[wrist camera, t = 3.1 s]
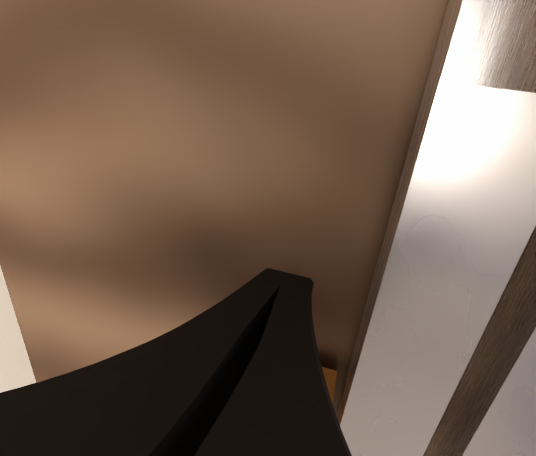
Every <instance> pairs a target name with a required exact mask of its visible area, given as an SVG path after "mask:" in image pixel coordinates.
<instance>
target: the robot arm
mask: <svg viewBox="0 0 536 456" xmlns="http://www.w3.org/2000/svg"><path fill="white" fill-rule="evenodd" d="M313 285H314V282H313V281H312V280H311V278H307V277H303V276H299V275H295V274H291V273H287V272H283V271H279V270H275V269H270V268H267V269H265V270H263V271H262V272H260V273H259V274H258V275H256V276H255V277H254V278H252V279H251V280H250V281H248V282H247V283H246V284H244V285H243V286H242V287H240V288H239V289H237V290H236V291H235V292H233V293H232V294H230V295H229V296H227V297H226V298H224V299H223V300H221V301H220V302H218V303H217V304H215V305H214V306H212V307H211V308H209V309H207V310H206V311H204V312H202V313H201V314H199V315H197V316H196V317H194V318H192V319H191V320H189V321H187V322H186V323H184V324H182V325H180V326H178V327H176V328H175V329H173V330H171V331H169V332H167V333H165V334H163V335H161V336H159V337H157V338H155V339H152V340H150V341H148V342H146V343H144V344H141V345H139V346H137V347H134V348H132V349H129V350H127V351H124V352H122V353H119V354H117V355H114V356H112V357H110V358H107V359H105V360H102V361H100V362H97V363H94V364H92V365H89V366H86V367H83V368H80V369H77V370H74V371H72V372H69V373H66V374H63V375H59V376H56V377H53V378H50V379H47V380H44V381H41V382H37V383H34V384H31V385H27V386H24V387H21V388H17V389H13V390H10V391H6V392H2V393H0V456H352V455H351V452H350V450H349V447H348V445H347V442H346V440H345V437H344V435H343V432H342V430H341V427H340V424H339V421H338V418H337V415H336V413H335V410H334V407H333V404H332V401H331V397H330V394H329V391H328V388H327V384H326V381H325V377H324V374H323V370H322V366H321V362H320V357H319V353H318V348H317V343H316V338H315V331H314V324H313V317H312V290H313Z"/></svg>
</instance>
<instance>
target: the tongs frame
mask: <svg viewBox="0 0 536 456" xmlns="http://www.w3.org/2000/svg"><path fill="white" fill-rule="evenodd" d="M424 456H536V228H535V230H534V232H533V234H532V236H531V238H530V240H529V242H528V244H527V247H526V249H525V251H524V253H523V255H522V257H521V259H520V261H519V263H518V265H517V267H516V269H515V271H514V273H513V275H512V277H511V279H510V281H509V283H508V285H507V287H506V289H505V291H504V293H503V295H502V297H501V299H500V301H499V304H498V306H497V308H496V310H495V312H494V314H493V316H492V318H491V320H490V322H489V324H488V326H487V328H486V330H485V332H484V334H483V336H482V338H481V340H480V342H479V344H478V346H477V348H476V350H475V352H474V354H473V356H472V358H471V361H470V363H469V365H468V367H467V369H466V371H465V373H464V375H463V377H462V379H461V381H460V383H459V385H458V387H457V389H456V391H455V393H454V395H453V397H452V399H451V401H450V403H449V405H448V407H447V409H446V411H445V413H444V415H443V418H442V420H441V422H440V424H439V426H438V428H437V430H436V432H435V434H434V436H433V438H432V440H431V442H430V444H429V446H428V448H427V450H426V452H425V454H424Z"/></svg>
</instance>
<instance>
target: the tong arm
mask: <svg viewBox="0 0 536 456" xmlns="http://www.w3.org/2000/svg"><path fill="white" fill-rule="evenodd" d="M535 226H536V0H449V2H448V5H447V9H446V12H445V16H444V20H443V23H442V27H441V31H440V34H439V38H438V42H437V45H436V49H435V53H434V56H433V60H432V64H431V67H430V71H429V75H428V78H427V82H426V86H425V89H424V93H423V97H422V100H421V104H420V108H419V111H418V115H417V119H416V122H415V126H414V130H413V133H412V137H411V140H410V144H409V148H408V151H407V155H406V159H405V162H404V166H403V170H402V173H401V177H400V181H399V184H398V188H397V192H396V195H395V199H394V203H393V206H392V210H391V214H390V217H389V221H388V225H387V228H386V232H385V236H384V239H383V243H382V247H381V250H380V254H379V258H378V261H377V265H376V269H375V272H374V276H373V279H372V283H371V287H370V290H369V294H368V298H367V301H366V305H365V309H364V312H363V316H362V320H361V323H360V327H359V331H358V334H357V338H356V342H355V345H354V349H353V353H352V356H351V360H350V364H349V367H348V371H347V375H346V378H345V382H344V386H343V389H342V393H341V397H340V400H339V404H338V408H337V411H336V415H337V418H338V421H339V424H340V427H341V430H342V432H343V435H344V437H345V440H346V442H347V445H348V447H349V450H350V452H351V455H352V456H423V455H424V453H425V451H426V449H427V447H428V445H429V442H430V440H431V438H432V436H433V434H434V432H435V430H436V428H437V426H438V424H439V422H440V420H441V418H442V416H443V414H444V412H445V410H446V408H447V406H448V404H449V402H450V400H451V398H452V396H453V393H454V391H455V389H456V387H457V385H458V383H459V381H460V379H461V377H462V375H463V373H464V371H465V369H466V367H467V365H468V363H469V361H470V359H471V357H472V355H473V353H474V351H475V349H476V346H477V344H478V342H479V340H480V338H481V336H482V334H483V332H484V330H485V328H486V326H487V324H488V322H489V320H490V318H491V316H492V314H493V312H494V310H495V308H496V306H497V304H498V302H499V300H500V297H501V295H502V293H503V291H504V289H505V287H506V285H507V283H508V281H509V279H510V277H511V275H512V273H513V271H514V269H515V267H516V265H517V263H518V261H519V259H520V257H521V255H522V253H523V251H524V248H525V246H526V244H527V242H528V240H529V238H530V236H531V234H532V232H533V230H534V228H535Z"/></svg>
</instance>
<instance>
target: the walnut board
mask: <svg viewBox="0 0 536 456" xmlns="http://www.w3.org/2000/svg"><path fill="white" fill-rule="evenodd" d="M448 2H449V0H0V265H1V268H2V272H3V275H4V278H5V281H6V285H7V288H8V291H9V294H10V298H11V301H12V304H13V307H14V311H15V314H16V317H17V320H18V324H19V327H20V330H21V333H22V337H23V340H24V343H25V346H26V350H27V353H28V356H29V359H30V363H31V366H32V369H33V372H34V376H35V379H36V382H41V381H44V380H47V379H50V378H53V377H56V376H59V375H63V374H66V373H69V372H72V371H74V370H77V369H80V368H83V367H86V366H89V365H92V364H94V363H97V362H100V361H102V360H105V359H107V358H110V357H112V356H114V355H117V354H119V353H122V352H124V351H127V350H129V349H132V348H134V347H137V346H139V345H141V344H144V343H146V342H148V341H150V340H152V339H155V338H157V337H159V336H161V335H163V334H165V333H167V332H169V331H171V330H173V329H175V328H176V327H178V326H180V325H182V324H184V323H186V322H187V321H189V320H191V319H192V318H194V317H196V316H197V315H199V314H201V313H202V312H204V311H206V310H207V309H209V308H211V307H212V306H214V305H215V304H217V303H218V302H220V301H221V300H223V299H224V298H226V297H227V296H229V295H230V294H232V293H233V292H235V291H236V290H237V289H239V288H240V287H242V286H243V285H244V284H246V283H247V282H248V281H250V280H251V279H252V278H254V277H255V276H256V275H258V274H259V273H260V272H262V271H263V270H265V269H267V268H270V269H275V270H279V271H283V272H287V273H291V274H295V275H299V276H303V277H307V278H311V280H312V281H313V282H314V285H313V290H312V317H313V324H314V331H315V338H316V343H317V348H318V353H319V357H320V362H321V366H322V367H325V368H329V369H332V370H335V371H337V376H336V383H335V390H334V397H333V407H334V410H335V413H336V411H337V408H338V404H339V400H340V397H341V393H342V389H343V386H344V382H345V378H346V375H347V371H348V367H349V364H350V360H351V356H352V353H353V349H354V345H355V342H356V338H357V334H358V331H359V327H360V323H361V320H362V316H363V312H364V309H365V305H366V301H367V298H368V294H369V290H370V287H371V283H372V279H373V276H374V272H375V269H376V265H377V261H378V258H379V254H380V250H381V247H382V243H383V239H384V236H385V232H386V228H387V225H388V221H389V217H390V214H391V210H392V206H393V203H394V199H395V195H396V192H397V188H398V184H399V181H400V177H401V173H402V170H403V166H404V162H405V159H406V155H407V151H408V148H409V144H410V140H411V137H412V133H413V130H414V126H415V122H416V119H417V115H418V111H419V108H420V104H421V100H422V97H423V93H424V89H425V86H426V82H427V78H428V75H429V71H430V67H431V64H432V60H433V56H434V53H435V49H436V45H437V42H438V38H439V34H440V31H441V27H442V23H443V20H444V16H445V12H446V9H447V5H448ZM535 228H536V226H535ZM535 228H534V230H535ZM534 230H533V232H534ZM533 232H532V234H533ZM532 234H531V236H532ZM531 236H530V238H531ZM530 238H529V240H530ZM529 240H528V242H529ZM528 242H527V244H528ZM527 244H526V246H525V248H524V251H525V249H526V247H527ZM524 251H523V253H524ZM523 253H522V255H523ZM522 255H521V257H522ZM521 257H520V259H521ZM520 259H519V261H520ZM519 261H518V263H519ZM518 263H517V265H518ZM517 265H516V267H517ZM516 267H515V269H516ZM515 269H514V271H515ZM514 271H513V273H514ZM513 273H512V275H513ZM512 275H511V277H512ZM511 277H510V279H511ZM510 279H509V281H510ZM509 281H508V283H509ZM508 283H507V285H508ZM507 285H506V287H507ZM506 287H505V289H506ZM505 289H504V291H505ZM504 291H503V293H504ZM503 293H502V295H503ZM502 295H501V297H502ZM501 297H500V299H501ZM499 301H500V300H499ZM498 304H499V302H498ZM498 304H497V306H498ZM497 306H496V308H497ZM496 308H495V310H496ZM495 310H494V312H495ZM494 312H493V314H494ZM493 314H492V316H493ZM492 316H491V318H492ZM491 318H490V320H491ZM490 320H489V322H490ZM489 322H488V324H489ZM488 324H487V326H488ZM487 326H486V328H487ZM486 328H485V330H486ZM485 330H484V332H485ZM484 332H483V334H484ZM483 334H482V336H483ZM482 336H481V338H482ZM481 338H480V340H481ZM480 340H479V342H480ZM479 342H478V344H479ZM478 344H477V346H478ZM477 346H476V348H477ZM475 350H476V349H475ZM474 352H475V351H474ZM473 354H474V353H473ZM472 356H473V355H472ZM471 358H472V357H471ZM470 361H471V359H470ZM470 361H469V363H470ZM469 363H468V365H469ZM468 365H467V367H468ZM467 367H466V369H467ZM466 369H465V371H466ZM465 371H464V373H465ZM464 373H463V375H464ZM463 375H462V377H463ZM462 377H461V379H462ZM461 379H460V381H461ZM460 381H459V383H460ZM459 383H458V385H459ZM458 385H457V387H458ZM457 387H456V389H457ZM456 389H455V391H456ZM455 391H454V393H455ZM454 393H453V395H454ZM452 397H453V396H452ZM451 399H452V398H451ZM450 401H451V400H450ZM449 403H450V402H449ZM448 405H449V404H448ZM447 407H448V406H447ZM446 409H447V408H446ZM445 411H446V410H445ZM444 413H445V412H444ZM443 415H444V414H443ZM442 418H443V416H442ZM442 418H441V420H442ZM441 420H440V422H441ZM440 422H439V424H440ZM439 424H438V426H439ZM438 426H437V428H438ZM437 428H436V430H437ZM436 430H435V432H436ZM435 432H434V434H435ZM434 434H433V436H434ZM433 436H432V438H433ZM432 438H431V440H432ZM431 440H430V442H431ZM430 442H429V444H430ZM428 446H429V445H428ZM427 448H428V447H427ZM426 450H427V449H426ZM425 452H426V451H425ZM424 454H425V453H424ZM423 456H424V455H423Z"/></svg>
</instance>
